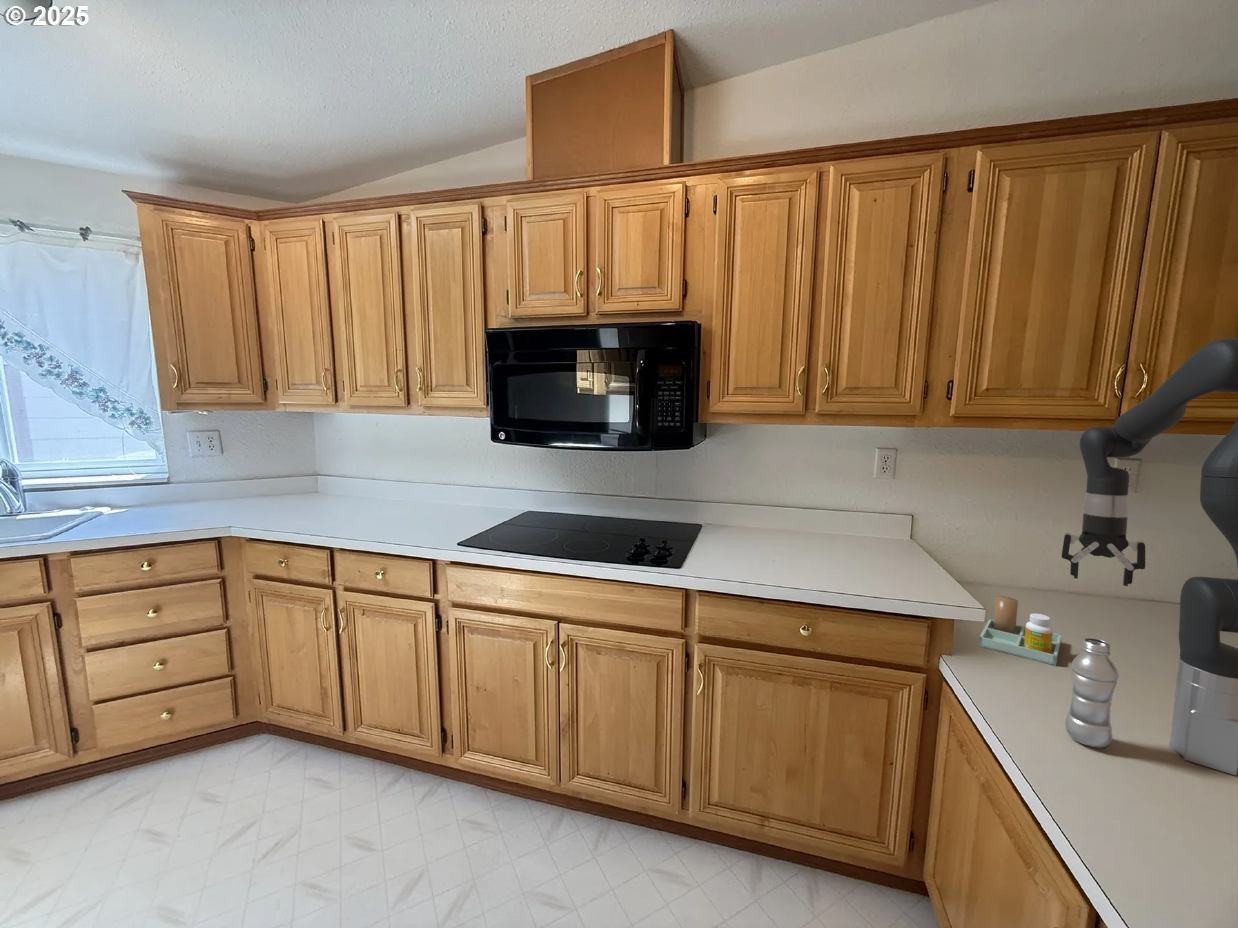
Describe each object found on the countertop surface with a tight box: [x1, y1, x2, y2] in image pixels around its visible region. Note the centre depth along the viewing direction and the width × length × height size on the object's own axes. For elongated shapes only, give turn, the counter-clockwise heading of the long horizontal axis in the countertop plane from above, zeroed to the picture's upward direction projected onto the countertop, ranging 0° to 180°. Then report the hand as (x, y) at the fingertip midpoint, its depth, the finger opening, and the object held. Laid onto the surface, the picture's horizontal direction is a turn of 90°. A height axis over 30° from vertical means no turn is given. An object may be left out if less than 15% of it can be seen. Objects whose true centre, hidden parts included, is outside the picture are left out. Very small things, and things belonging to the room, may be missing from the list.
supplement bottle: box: [1024, 613, 1054, 654], centre depth 133 cm, size 5×5×10 cm
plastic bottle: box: [1064, 637, 1120, 749], centre depth 98 cm, size 6×7×20 cm
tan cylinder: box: [994, 595, 1019, 634], centre depth 143 cm, size 5×5×10 cm
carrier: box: [978, 618, 1062, 667], centre depth 139 cm, size 16×16×2 cm
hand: (1100, 581), depth 122 cm, fingers open, 8 cm apart
